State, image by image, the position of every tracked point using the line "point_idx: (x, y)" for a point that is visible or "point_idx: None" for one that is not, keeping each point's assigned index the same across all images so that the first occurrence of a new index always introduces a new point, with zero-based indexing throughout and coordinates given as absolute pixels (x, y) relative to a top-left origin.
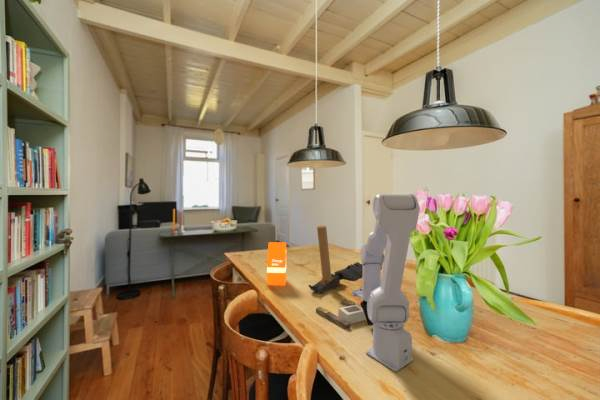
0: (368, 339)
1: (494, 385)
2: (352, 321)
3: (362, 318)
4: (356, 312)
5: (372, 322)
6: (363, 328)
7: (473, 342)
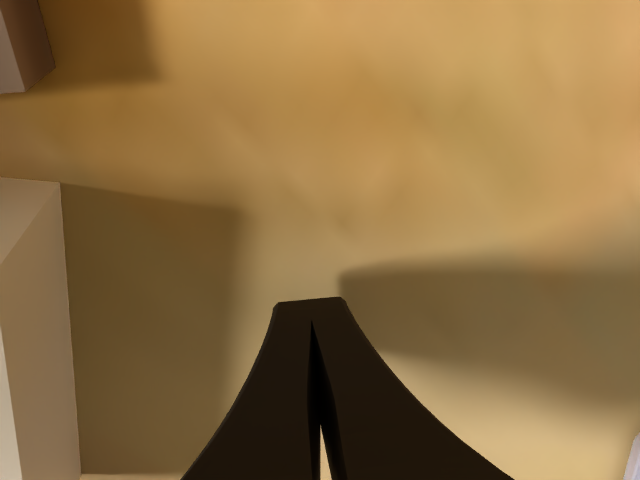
0: None
1: None
2: (70, 431)
3: (54, 279)
4: (9, 473)
5: None
6: None
7: None
